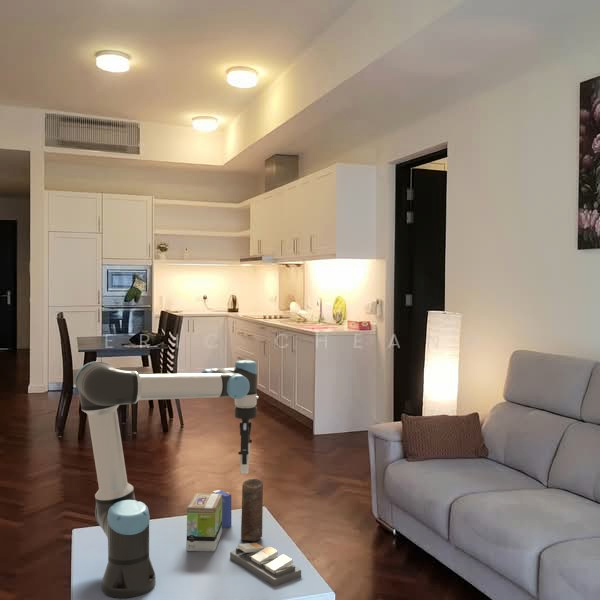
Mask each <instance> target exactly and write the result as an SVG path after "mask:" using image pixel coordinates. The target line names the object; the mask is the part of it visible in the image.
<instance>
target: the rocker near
mask: <svg viewBox="0 0 600 600" xmlns="http://www.w3.org/2000/svg"><path fill="white" fill-rule="evenodd" d="M293 563H294V562H293V559H292V558H291V557H289V556H288V555H286V554H284V553H283V554H281V555H279V556H278V558H276V559H274V560H273V561H271V562H269V563H268V564H266V565H265V568H266V569H267V570H269V571H270V572H272V573H274V574H275V572H276V571H278V570H281V569H284V568H285V567H287V566H289V565H290V564H292V565H293Z"/></svg>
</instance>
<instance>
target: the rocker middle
mask: <svg viewBox="0 0 600 600" xmlns="http://www.w3.org/2000/svg"><path fill="white" fill-rule="evenodd" d="M278 555H279V552H278V550H277V549H276V548H274V547H271V546H267V547H264V549H263V550H261V551H260V552H258V553H256V554H255V555H253V556H251V559H252V561H254V562H256V563H257V564H259V565H260V563H262V562H264V561H267V560H270V559H271V558H273V557H275V556H278Z"/></svg>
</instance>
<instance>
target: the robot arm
mask: <svg viewBox="0 0 600 600" xmlns="http://www.w3.org/2000/svg"><path fill="white" fill-rule="evenodd" d="M74 384H75V389H76V391H77V392H78V395H79V402H80V408H81V411H82V412H84V413H86V415H87V418H88V425H89V432H90V438H91V444H92V445H91V446H92V452H93V460H94V463H95V471H96V477H97V483H98V490H97V491H96V493H94V498H95V508H94V509H95V511H94V515H95V519H96V522H97V524H98V525H99V527H100V528H101V529H102V530H103V532H104V534H105V536H106V538H107V565H106V568H105V571H104V574H103V577H102V579H101V580H102V581H101V591H102V592H103V594H104V595H106V596H108V597H111V598H116V599H127V598H129V599H130V598H134V597H138V596H141V595H144V594H146V593H148V592H149V591H151V590H152V589H154V588H155V586H156V573H155V570H154V567H153V563H152V561H151V558H150V520H151V519H150V518H151V517H150V512H149V507H148V505H146V504H145V503H144V502H143V501H140V500H139V501H138V500H136V496H135V487H134V486H133V485H132V484H131V483H129V482H128V478H127V477H128V475H127V471H126V470H127V469H126V463H125V457H124V455H125V454H124V450H123V443H122V436H121V430H120V422H119V415H118V410H117V409H118V408H119V406H121V405H133V404H134V405H135V404H137V402H138V401H151V400H152V401H153V400H175V399H176V400H177V399H179V400H181V399H201V398H202V399H203V398H204V399H205V398H207V399H208V398H232V399H234V405H235V406H234V418H236V419H238V420H240V419H241V421H239V436H240V451H238V455H240V456H239V457H240V462H239V463H240V465H239V467H240V468H239V469H240V470H239V473H240V474H243V475H244V474H245V475H246V474H247V475H248V474H249V470H250V469H249V464H250V462H251V444H252V443H253V439H251V432H252V424H253V423H252V421H251V419H255V418H257V415H258V413H257V412H258V409H257V408H258V407H257V404H258V399H259V396H258V394H257V393H258V391H257V389H258V386H257V385H258V366H257V362H256V361H254V360H249V359H248V360H247V359H244V360H236V361H235V363H234V366H233V367H217V368H215V367H211V368H205V369H203V370H202V371H201V372H200V373H149V374H148V373H143V374H142V373H138V372H137V371H136V370H124V369H118V368H115V367H112V366H111V365H109V364H108V363H106V362H105V361H91V362H87V363H86V364H84V365H82V366H81V368H80V369H78V371H77V373H76V376H75V380H74Z"/></svg>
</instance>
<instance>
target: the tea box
mask: <svg viewBox="0 0 600 600" xmlns="http://www.w3.org/2000/svg"><path fill="white" fill-rule="evenodd" d="M222 529H223V527H222V494H212V493H204V492H203V493H202V492H201V493H200V492H199V493H197V492H196V493H194V495H193V497H192V499H191V500H190V502H189V504H188V506H187V507H186V549H185V550H186V551H187V552H215V551H216V549H217V546H218V544H219V542H220V538H221V537H222V533H223V530H222Z"/></svg>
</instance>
